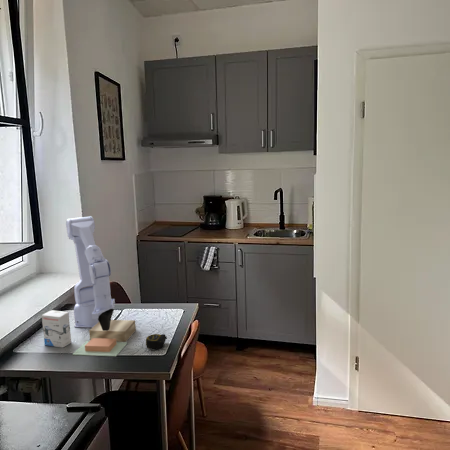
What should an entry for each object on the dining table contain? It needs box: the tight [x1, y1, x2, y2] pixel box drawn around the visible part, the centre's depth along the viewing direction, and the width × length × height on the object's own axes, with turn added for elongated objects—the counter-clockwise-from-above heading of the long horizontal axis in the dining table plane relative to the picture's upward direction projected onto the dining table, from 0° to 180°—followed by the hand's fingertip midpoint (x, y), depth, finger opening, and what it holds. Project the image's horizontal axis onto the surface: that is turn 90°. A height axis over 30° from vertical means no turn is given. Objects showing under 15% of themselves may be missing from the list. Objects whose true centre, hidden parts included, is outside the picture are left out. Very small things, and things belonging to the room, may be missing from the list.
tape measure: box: [145, 333, 167, 351], centre depth 147 cm, size 7×7×4 cm
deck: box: [88, 319, 137, 342], centre depth 158 cm, size 14×10×4 cm
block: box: [85, 338, 117, 352], centre depth 147 cm, size 9×6×2 cm, turn 81°
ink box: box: [41, 309, 72, 348], centre depth 152 cm, size 9×5×12 cm, turn 71°
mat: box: [72, 340, 128, 357], centre depth 147 cm, size 16×10×1 cm, turn 81°
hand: (106, 329), depth 152 cm, fingers closed
